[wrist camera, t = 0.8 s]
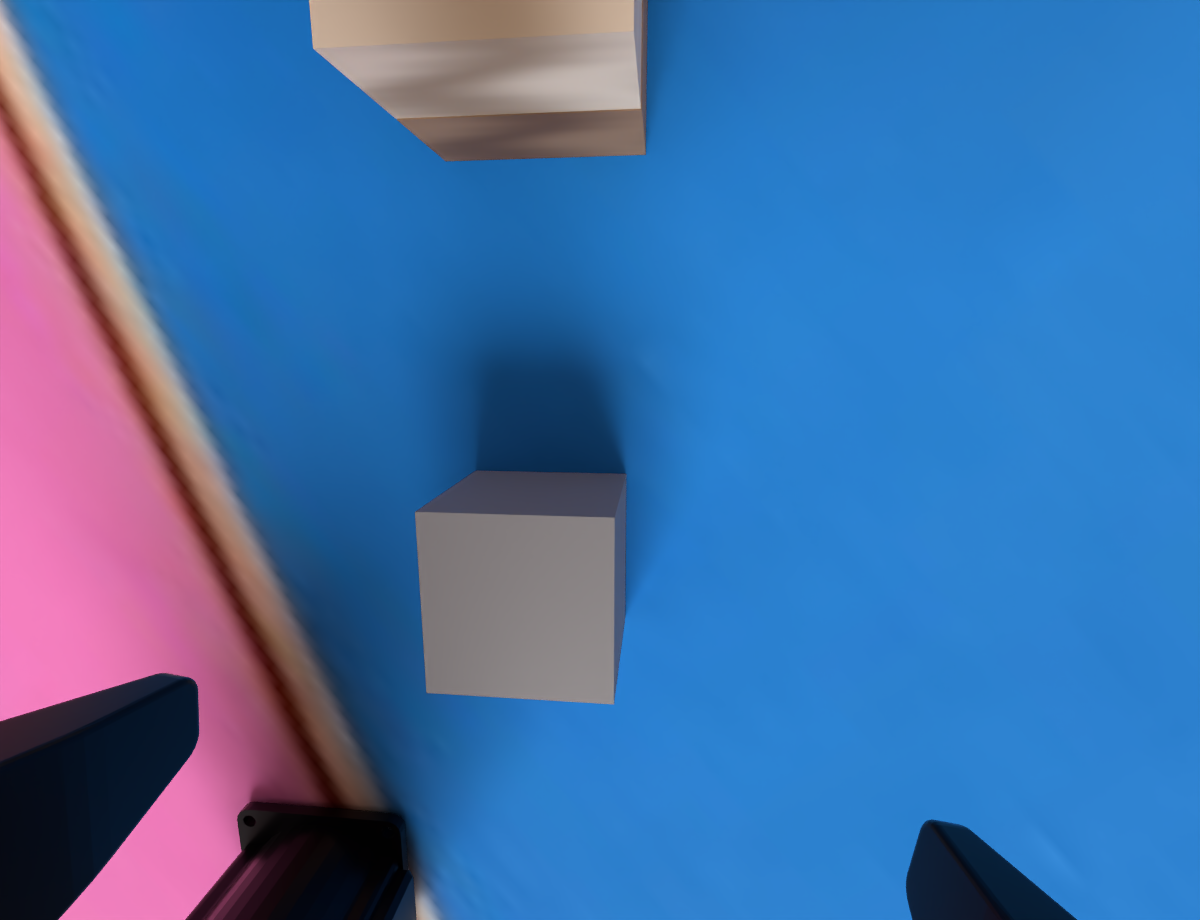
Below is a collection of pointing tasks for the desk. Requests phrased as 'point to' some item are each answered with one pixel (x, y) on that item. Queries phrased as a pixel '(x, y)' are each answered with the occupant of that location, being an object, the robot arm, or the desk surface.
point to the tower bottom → (539, 130)
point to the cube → (524, 585)
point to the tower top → (485, 54)
